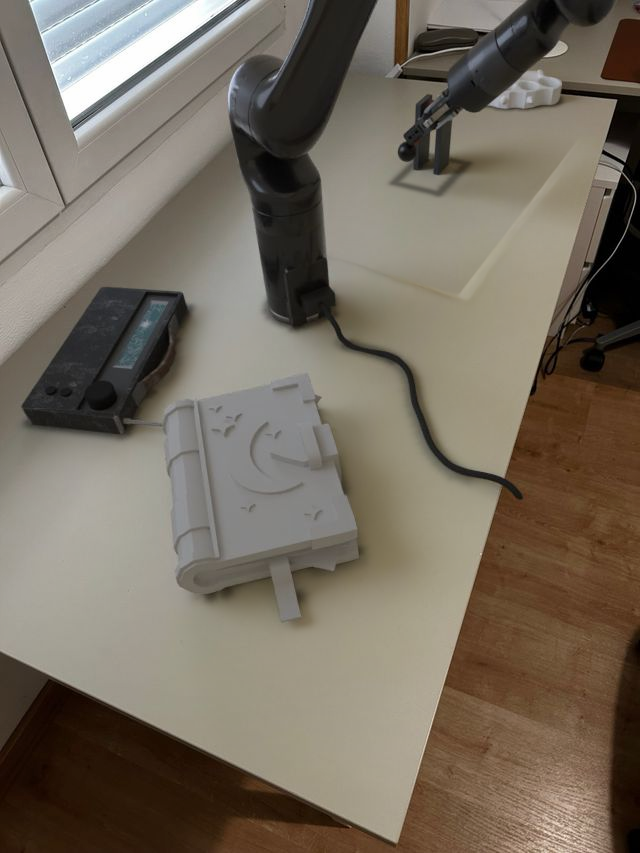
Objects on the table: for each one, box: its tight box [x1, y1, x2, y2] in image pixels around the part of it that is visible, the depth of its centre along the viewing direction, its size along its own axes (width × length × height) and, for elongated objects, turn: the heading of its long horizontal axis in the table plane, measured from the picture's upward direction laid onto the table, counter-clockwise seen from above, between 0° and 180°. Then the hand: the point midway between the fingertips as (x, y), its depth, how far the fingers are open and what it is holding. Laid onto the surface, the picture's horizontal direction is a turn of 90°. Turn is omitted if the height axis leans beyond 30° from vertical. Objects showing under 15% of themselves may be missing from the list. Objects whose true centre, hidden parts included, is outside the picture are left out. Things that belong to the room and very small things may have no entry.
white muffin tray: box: [486, 69, 563, 110], centre depth 136 cm, size 3×18×15 cm
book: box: [161, 372, 360, 623], centre depth 69 cm, size 19×28×8 cm
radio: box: [20, 286, 189, 435], centre depth 88 cm, size 25×4×20 cm
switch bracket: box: [412, 93, 453, 176], centre depth 114 cm, size 12×9×13 cm
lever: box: [397, 99, 435, 163], centre depth 108 cm, size 13×3×3 cm, turn 147°
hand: (408, 139), depth 106 cm, fingers closed
